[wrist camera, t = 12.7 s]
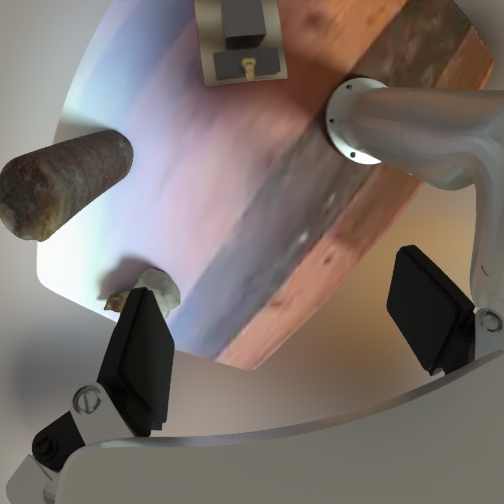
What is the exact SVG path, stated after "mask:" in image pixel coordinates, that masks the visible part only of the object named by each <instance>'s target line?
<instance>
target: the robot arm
mask: <svg viewBox="0 0 504 504" xmlns="http://www.w3.org/2000/svg"><path fill="white" fill-rule="evenodd" d="M346 86H348V89H347V88H346ZM330 119H332V122H331V123H330ZM325 125H326V130H327V133H328V136H329V138H330V140H331V142H332V143H333V145H334V147H335V148H336V149H337V150H338V151H339V152H340V153H341V154H342V155H344V156H345V157H346V158H348V159H350V160H352V161H354V162H357V163H360V164H366V165H367V164H376V163H380V162H384V163H386V164H388V165H390V166H392V167H395V168H397V169H399V170H401V171H403V172H405V173H407V174H409V175H411V176H413V177H415V178H417V179H419V180H421V181H423V182H425V183H427V184H429V185H431V186H433V187H436V188H438V189H442V190H447V191H454V190H460V189H463V188H466V187H468V186H470V185H472V184H475V188H476V224H475V235H474V243H473V251H472V260H471V269H470V291H471V295H472V299H473V302H474V304H475V305H474V304H473V303H472V302H471V300H469V298H468V297H467V296H466V295H465V294H464V293H463V292H462V291H461V290H460V289H459V288H458V286H457V285H456V284H455V283H454V282H452V280H451V279H450V278H449V277H448V276H447V275H446V274H445V273H444V272H443V271H442V270H441V269H440V268H439V267H438V266H437V265H436V264H435V263H434V262H433V261H432V260H430V259H429V258H428V257H427V256H426V255H425V254H424V253H423V252H422V251H421V250H420V249H419V248H418V247H417V246H415V245H408V246H403V247H401V248H400V250H399V251H398V252H397V254H396V260H395V265H394V270H393V276H392V281H391V285H390V291H389V295H388V299H387V311H388V312H389V314H390V316H391V317H392V319H393V320H394V321H395V323H396V325H397V326H398V328H399V329H400V331H401V332H402V334H403V336H404V337H405V339H406V340H407V342H408V344H409V345H410V347H411V349H412V350H413V352H414V354H415V355H416V357H417V359H418V360H419V362H420V364H421V365H422V367H423V368H424V370H428V372H429V374H430V376H433V375H435V374H438V373H440V372H441V371H442V370H443V371H444V372H445V376H443V377H441V378H439V379H437V380H435V381H432V382H431V383H428V384H426V385H423V386H421V387H419V388H416V389H414V390H411V391H409V392H407V393H404V394H401V395H399V396H396V397H393V398H391V399H388V400H385V401H382V402H379V403H376V404H373V405H370V406H367V407H364V408H361V409H358V410H354V411H351V412H348V413H344V414H340V415H336V416H333V417H329V418H325V419H320V420H316V421H312V422H307V423H302V424H297V425H292V426H287V427H281V428H275V429H269V430H262V431H255V432H246V433H237V434H225V435H211V436H192V437H149V436H150V435H151V430H162V423H165V422H166V420H167V411H168V399H169V390H170V382H171V373H172V365H173V356H174V349H175V346H174V340H173V338H172V336H171V333H170V331H169V329H168V327H167V324H166V322H165V320H164V317H163V315H162V313H161V310H160V308H159V305H158V303H157V300H156V298H155V295H154V293H153V291H152V290H148V288H147V287H139V288H132V289H131V290H130V292H129V294H128V297H127V299H126V302H125V304H124V307H123V309H122V312H121V315H120V317H119V320H118V323H117V325H116V327H115V328H114V331H113V333H112V336H111V339H110V342H109V344H108V347H107V351H106V353H105V356H104V359H103V362H102V365H101V368H100V372H99V375H98V378H97V381H96V382H92V381H89V382H84V383H82V384H80V385H79V386H78V387H76V388H75V389H74V391H73V392H72V393H71V396H70V398H69V408H70V410H69V411H68V412H67V413H65V414H64V415H62V416H61V417H60V418H58V419H57V420H55V421H54V422H53V423H51V424H50V425H48V426H47V427H46V428H44V429H43V430H41V431H40V432H39V433H38V434H37V435H36V436H35V438H34V440H33V443H32V452H33V455H32V456H31V455H30V454H28V455H27V457H26V458H25V459H24V461H23V462H22V463H21V465H20V466H19V467H18V469H17V470H16V471H15V473H14V474H13V475H12V477H11V478H10V480H9V481H8V483H7V485H6V493H7V497H8V499H9V501H10V502H11V504H504V90H456V89H440V88H404V87H394V88H388V87H387V86H386V85H384V84H383V83H381V82H379V81H377V80H374V79H370V78H355V79H351V80H348V81H345V82H344V83H342V84H341V85H339V86H338V87H337V88H336V89H335V90H334V91H333V93H332V94H331V96H330V97H329V100H328V102H327V105H326V110H325ZM350 153H352V154H351V155H350ZM475 306H476V307H477V309H478V311H477V312H476V314H475V313H474V312H473V310H474V308H475Z"/></svg>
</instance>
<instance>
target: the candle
mask: <svg viewBox="0 0 504 504" xmlns="http://www.w3.org/2000/svg"><path fill="white" fill-rule="evenodd" d="M132 162H133V148H132V146H131V143H130V142H129V140H128V139H127V138H126V137H125V136H124V135H122V134H121V133H119V132H117V131H113V130H112V131H102V132H98V133H93V134H89V135H86V136H82V137H79V138H75V139H71V140H68V141H64V142H61V143H58V144H55V145H52V146H48V147H45V148H42V149H39V150H36V151H33V152H30V153H27V154H24V155H21V156H19V157H17V158H14V159H12V160H11V161H9V162H8V163H7V164H6V165H5V166H4V168H3V169H2V171H1V174H0V218H1V220H2V222H3V224H4V225H5V226H6V228H7V229H8V230H9V231H11V232H12V233H13V234H14V235H15V236H17V237H18V238H21V239H24V240H37V241H39V242H42V241H45V240H47V239H48V238H49V237H50V236H51V235H52V234H54V233H55V232H56V231H57V230H58V229H59V228H60V227H62V226H63V225H64V224H65V223H67V222H68V221H69V220H70V219H71V218H72V217H73V216H75V215H76V214H77V213H78V212H79V211H81V210H82V209H83V208H84V207H86V206H87V205H88V204H89V203H91V202H92V201H93V200H94V199H96V198H97V197H98V196H100V195H101V194H102V193H104V192H105V191H107V190H108V189H109V188H111V187H112V186H114V185H115V184H117V183H118V182H119V181H121V180H122V179H123V178H125V176H126V175H127V174H128V173H129V171H130V168H131V166H132Z"/></svg>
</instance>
